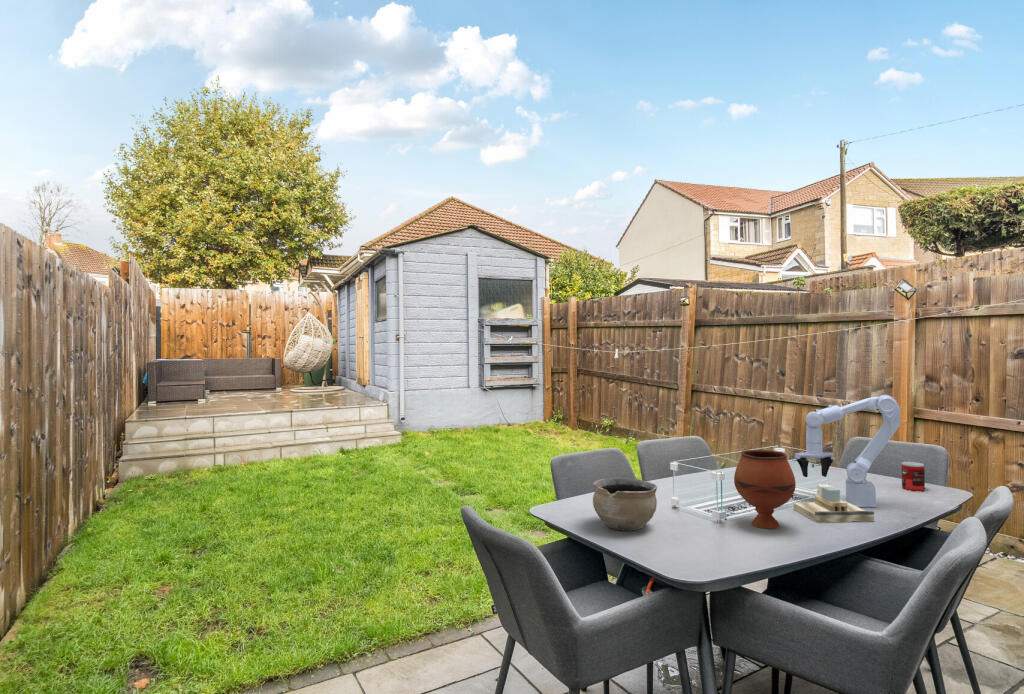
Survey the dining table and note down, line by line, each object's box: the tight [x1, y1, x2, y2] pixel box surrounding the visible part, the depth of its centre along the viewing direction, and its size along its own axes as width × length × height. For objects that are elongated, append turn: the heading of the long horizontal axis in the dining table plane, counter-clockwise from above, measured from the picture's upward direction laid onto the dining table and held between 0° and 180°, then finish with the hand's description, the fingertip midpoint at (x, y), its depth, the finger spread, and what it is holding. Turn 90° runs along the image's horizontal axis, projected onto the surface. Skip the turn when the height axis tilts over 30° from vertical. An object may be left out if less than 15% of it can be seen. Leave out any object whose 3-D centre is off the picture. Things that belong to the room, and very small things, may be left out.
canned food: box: [901, 461, 926, 492], centre depth 235 cm, size 8×8×11 cm
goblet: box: [733, 449, 797, 530], centre depth 191 cm, size 19×19×25 cm
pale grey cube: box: [823, 487, 841, 502], centre depth 201 cm, size 4×4×4 cm
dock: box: [793, 501, 875, 523], centre depth 201 cm, size 20×16×4 cm
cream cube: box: [816, 483, 834, 498], centre depth 206 cm, size 4×4×4 cm
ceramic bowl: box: [592, 477, 658, 531], centre depth 192 cm, size 22×22×15 cm
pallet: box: [813, 494, 847, 511], centre depth 203 cm, size 6×11×3 cm, turn 1°
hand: (814, 476), depth 221 cm, fingers open, 7 cm apart
